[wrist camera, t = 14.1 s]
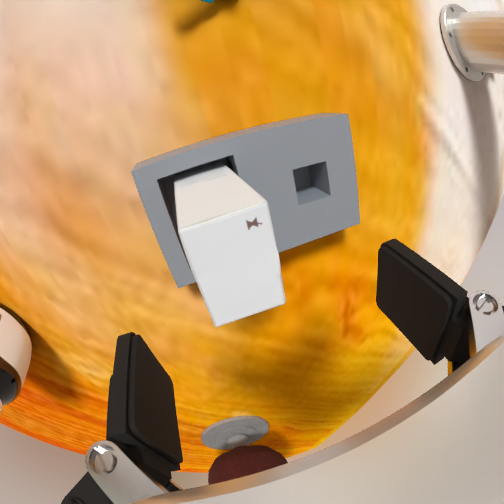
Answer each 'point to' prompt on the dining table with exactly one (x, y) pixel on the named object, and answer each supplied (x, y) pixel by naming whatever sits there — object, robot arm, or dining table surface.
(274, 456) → the mate gourd
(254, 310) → the skincare box
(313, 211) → the stand
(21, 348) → the spread jar
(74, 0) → the dining table surface
